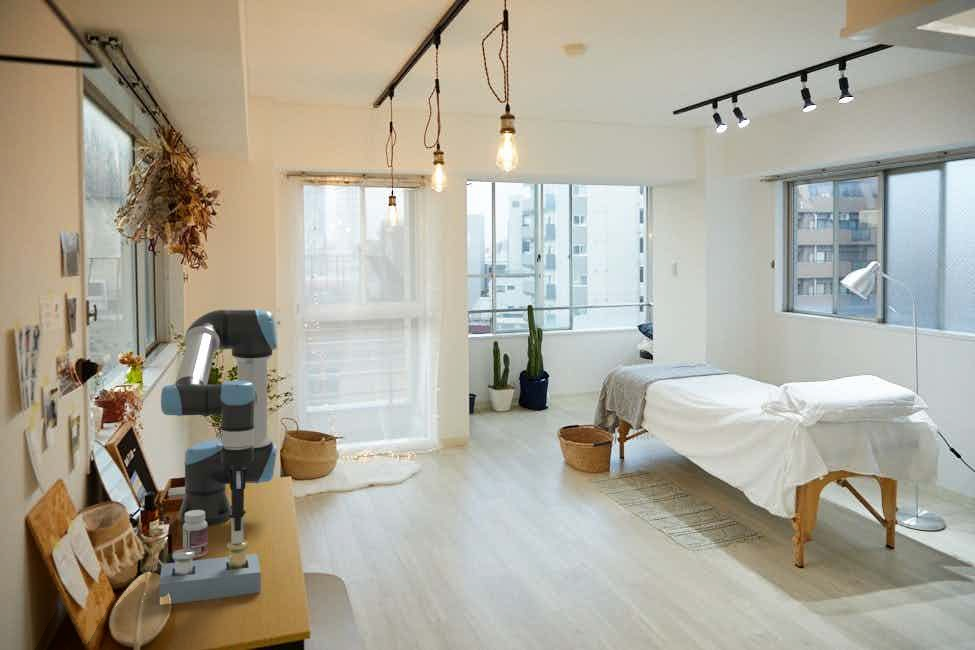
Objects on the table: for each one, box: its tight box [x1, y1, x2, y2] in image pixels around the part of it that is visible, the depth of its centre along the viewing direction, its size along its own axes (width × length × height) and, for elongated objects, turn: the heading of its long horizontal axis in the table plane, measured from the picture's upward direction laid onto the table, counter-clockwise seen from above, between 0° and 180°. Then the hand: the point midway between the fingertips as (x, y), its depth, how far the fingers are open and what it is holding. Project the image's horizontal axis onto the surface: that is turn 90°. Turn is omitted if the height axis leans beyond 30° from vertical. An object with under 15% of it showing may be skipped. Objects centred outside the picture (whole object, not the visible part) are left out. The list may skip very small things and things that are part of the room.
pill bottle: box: [182, 510, 209, 559], centre depth 195 cm, size 6×6×11 cm
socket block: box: [158, 553, 262, 605], centre depth 175 cm, size 12×22×5 cm, turn 111°
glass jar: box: [226, 539, 249, 570], centre depth 177 cm, size 5×5×8 cm
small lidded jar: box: [172, 548, 195, 576], centre depth 172 cm, size 5×5×8 cm
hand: (237, 542), depth 176 cm, fingers closed
